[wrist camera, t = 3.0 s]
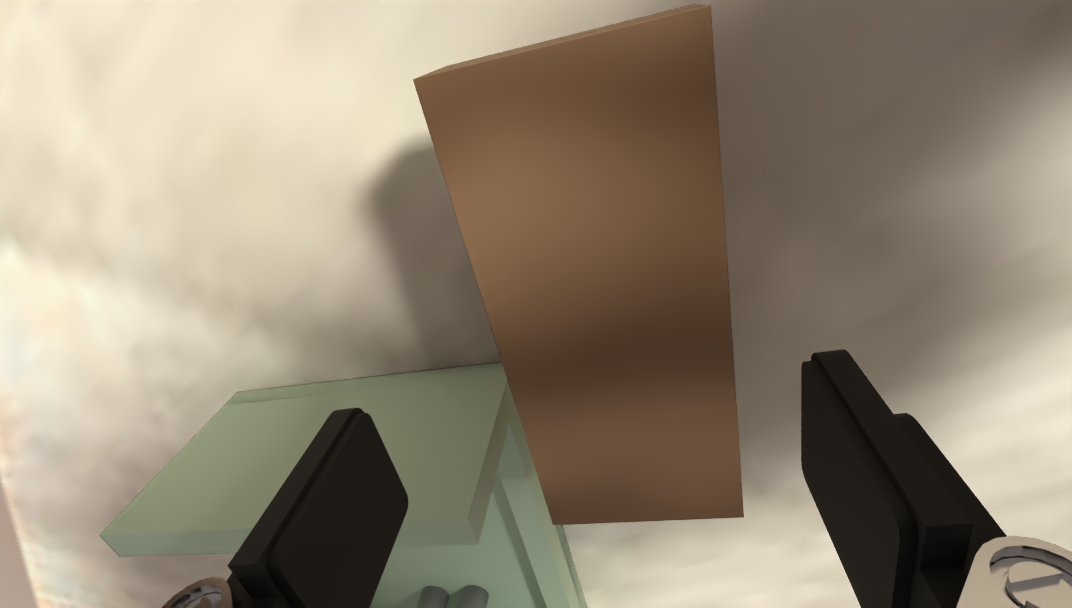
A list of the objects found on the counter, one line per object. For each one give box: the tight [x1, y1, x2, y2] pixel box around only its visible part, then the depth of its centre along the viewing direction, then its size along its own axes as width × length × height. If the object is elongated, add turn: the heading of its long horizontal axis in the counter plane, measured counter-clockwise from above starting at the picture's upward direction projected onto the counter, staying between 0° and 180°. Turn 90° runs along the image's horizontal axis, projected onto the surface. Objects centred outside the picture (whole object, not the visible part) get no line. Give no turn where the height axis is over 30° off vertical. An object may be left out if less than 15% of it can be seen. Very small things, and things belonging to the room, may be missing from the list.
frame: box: [99, 362, 587, 608], centre depth 25 cm, size 18×14×8 cm
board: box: [413, 4, 744, 525], centre depth 15 cm, size 14×6×3 cm, turn 13°
